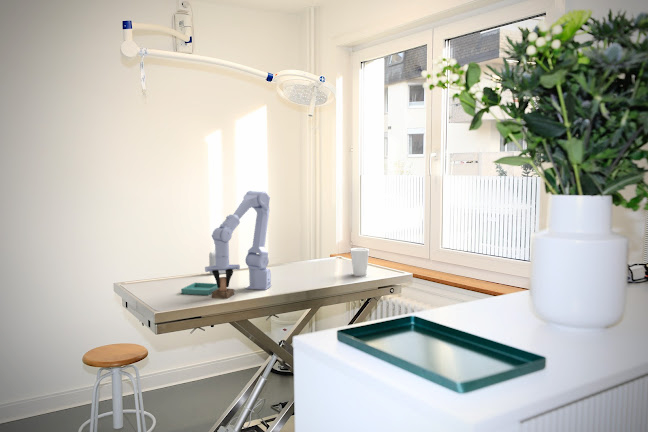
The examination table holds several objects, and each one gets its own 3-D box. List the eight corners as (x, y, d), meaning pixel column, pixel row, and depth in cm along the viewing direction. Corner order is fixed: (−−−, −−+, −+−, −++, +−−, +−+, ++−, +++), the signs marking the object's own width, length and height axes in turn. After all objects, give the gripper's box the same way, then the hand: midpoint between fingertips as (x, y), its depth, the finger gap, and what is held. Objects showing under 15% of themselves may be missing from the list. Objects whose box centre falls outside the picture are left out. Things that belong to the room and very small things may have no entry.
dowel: (228, 295, 238) (227, 277, 237) (225, 297, 235) (224, 278, 234) (221, 294, 239) (220, 276, 238) (218, 296, 236) (217, 278, 235)
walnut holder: (233, 294, 239) (233, 288, 239) (227, 298, 233) (227, 292, 232) (218, 293, 241) (218, 288, 241) (212, 297, 234) (211, 291, 234)
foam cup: (346, 274, 280) (346, 249, 279) (360, 271, 286) (360, 247, 285) (359, 277, 273) (359, 251, 272) (372, 274, 278) (373, 249, 277)
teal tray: (220, 288, 250) (220, 283, 250) (208, 295, 238) (208, 290, 238) (194, 287, 253) (194, 282, 253) (181, 293, 241) (181, 288, 241)
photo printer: (226, 271, 288) (226, 248, 287) (230, 273, 284) (229, 249, 283) (208, 274, 282) (207, 250, 281) (211, 275, 279) (210, 251, 277)
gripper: (237, 253, 241) (237, 283, 243) (203, 255, 236) (204, 286, 238) (240, 255, 235) (241, 287, 236) (206, 258, 230) (206, 290, 231)
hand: (222, 287), depth 236 cm, fingers closed on dowel, 3 cm apart
